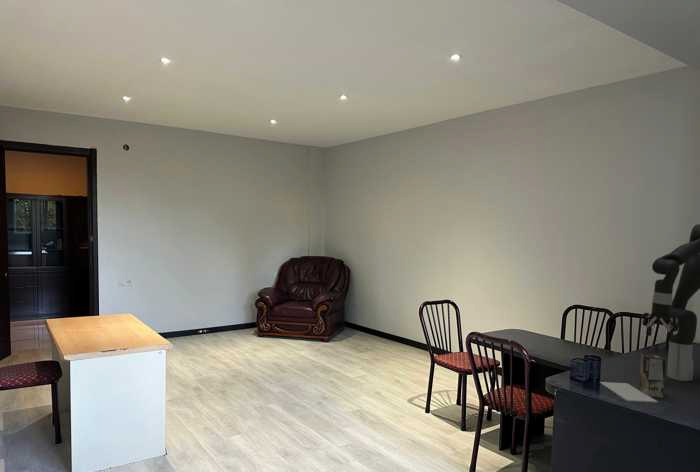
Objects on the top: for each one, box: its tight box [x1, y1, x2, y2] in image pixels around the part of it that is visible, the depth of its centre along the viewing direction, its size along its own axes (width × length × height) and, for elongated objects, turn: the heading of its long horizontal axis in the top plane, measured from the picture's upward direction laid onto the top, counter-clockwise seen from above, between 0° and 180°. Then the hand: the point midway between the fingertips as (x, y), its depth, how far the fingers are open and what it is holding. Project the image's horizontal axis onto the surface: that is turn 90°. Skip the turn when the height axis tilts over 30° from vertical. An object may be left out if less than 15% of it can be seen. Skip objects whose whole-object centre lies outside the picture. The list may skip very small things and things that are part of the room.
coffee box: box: [638, 353, 667, 399], centre depth 206 cm, size 9×6×16 cm
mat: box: [599, 381, 659, 404], centre depth 206 cm, size 12×22×1 cm, turn 0°
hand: (658, 337), depth 221 cm, fingers open, 8 cm apart
